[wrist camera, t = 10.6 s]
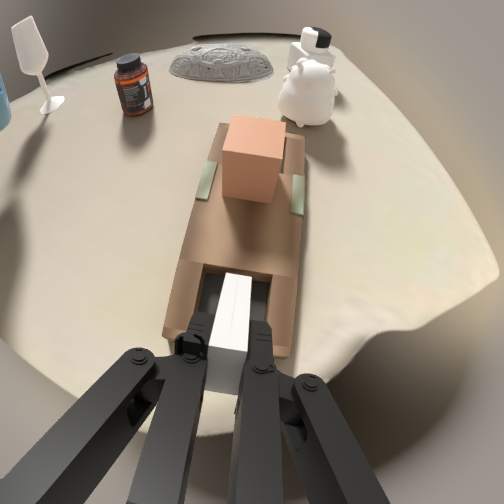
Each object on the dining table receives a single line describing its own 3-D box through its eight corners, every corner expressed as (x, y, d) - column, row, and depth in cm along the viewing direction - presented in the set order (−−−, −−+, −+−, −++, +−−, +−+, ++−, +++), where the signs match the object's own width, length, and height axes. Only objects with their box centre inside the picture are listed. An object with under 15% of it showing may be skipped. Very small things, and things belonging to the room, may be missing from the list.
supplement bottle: (158, 108, 45) (150, 56, 35) (128, 121, 43) (115, 70, 33) (147, 95, 47) (138, 47, 37) (119, 107, 45) (107, 59, 35)
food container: (279, 86, 50) (282, 57, 44) (157, 87, 50) (153, 60, 44) (275, 60, 58) (277, 37, 52) (174, 61, 58) (172, 39, 52)
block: (222, 196, 34) (222, 150, 27) (230, 160, 37) (233, 114, 30) (271, 203, 34) (282, 159, 27) (275, 167, 37) (285, 122, 30)
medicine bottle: (312, 66, 56) (322, 25, 45) (328, 81, 54) (341, 37, 43) (285, 67, 55) (294, 23, 44) (301, 82, 52) (312, 35, 41)
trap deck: (167, 339, 30) (160, 335, 27) (219, 136, 43) (219, 121, 40) (286, 358, 30) (292, 356, 27) (302, 149, 43) (306, 135, 40)
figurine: (325, 143, 44) (347, 86, 33) (269, 127, 45) (279, 67, 34) (330, 111, 48) (347, 60, 38) (280, 97, 49) (290, 45, 38)
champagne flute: (67, 100, 46) (39, 13, 24) (43, 118, 44) (8, 32, 22) (60, 93, 48) (33, 13, 26) (37, 108, 45) (5, 30, 24)
